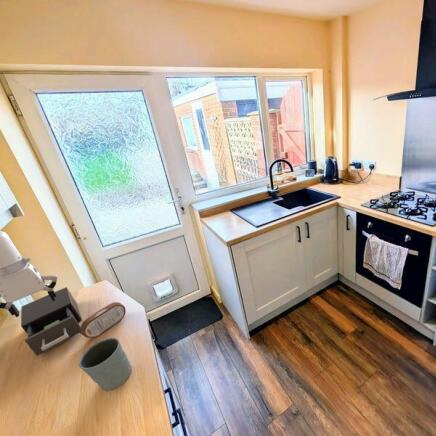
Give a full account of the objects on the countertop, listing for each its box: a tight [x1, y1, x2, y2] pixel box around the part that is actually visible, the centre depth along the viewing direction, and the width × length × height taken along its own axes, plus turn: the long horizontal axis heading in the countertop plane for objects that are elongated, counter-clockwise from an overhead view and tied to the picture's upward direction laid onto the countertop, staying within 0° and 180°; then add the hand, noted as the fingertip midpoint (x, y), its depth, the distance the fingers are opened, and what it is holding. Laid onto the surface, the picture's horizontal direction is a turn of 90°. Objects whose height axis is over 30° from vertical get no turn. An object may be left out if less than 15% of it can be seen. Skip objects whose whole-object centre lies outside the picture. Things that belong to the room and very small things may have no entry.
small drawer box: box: [20, 286, 82, 335], centre depth 101 cm, size 16×15×10 cm
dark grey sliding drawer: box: [24, 306, 81, 357], centre depth 92 cm, size 20×13×8 cm, turn 46°
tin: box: [79, 301, 127, 339], centre depth 95 cm, size 15×3×8 cm, turn 149°
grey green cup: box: [78, 337, 133, 392], centre depth 75 cm, size 10×10×12 cm
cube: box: [44, 320, 60, 329], centre depth 93 cm, size 4×4×4 cm
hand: (36, 306), depth 88 cm, fingers open, 9 cm apart
